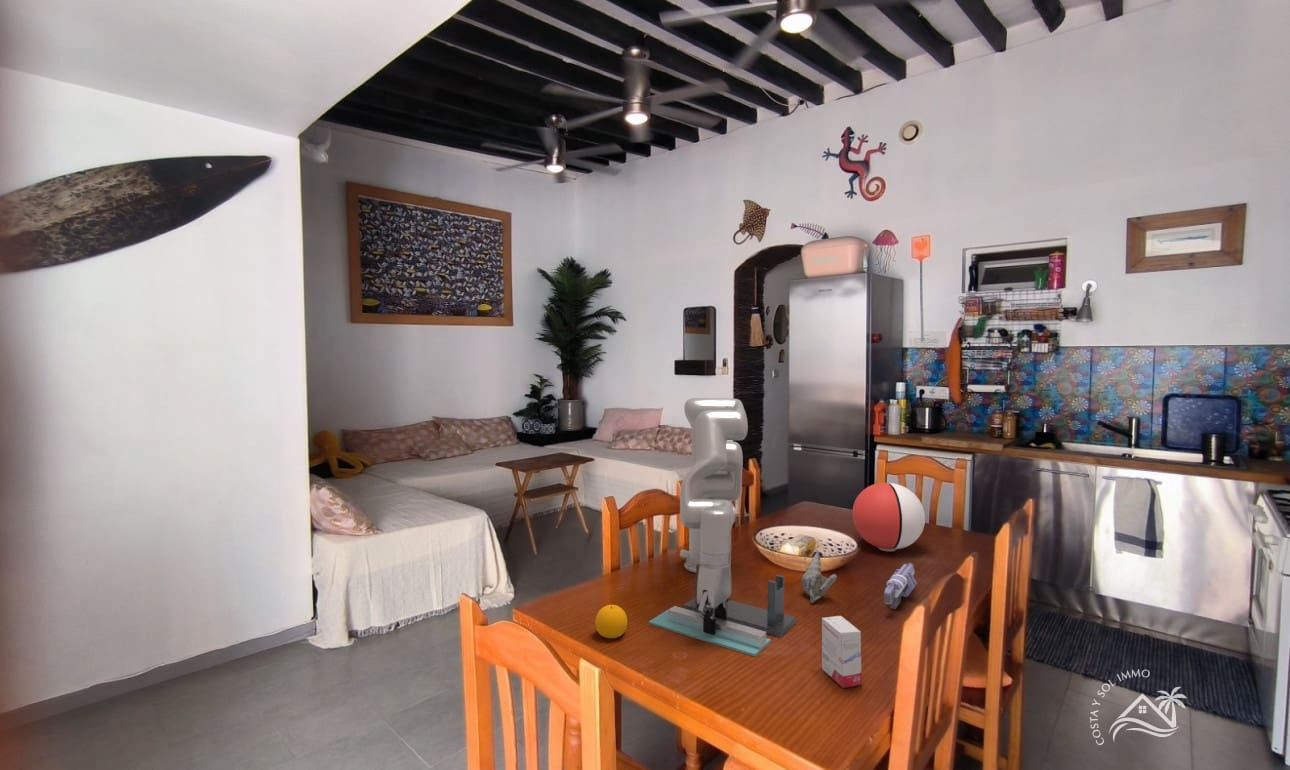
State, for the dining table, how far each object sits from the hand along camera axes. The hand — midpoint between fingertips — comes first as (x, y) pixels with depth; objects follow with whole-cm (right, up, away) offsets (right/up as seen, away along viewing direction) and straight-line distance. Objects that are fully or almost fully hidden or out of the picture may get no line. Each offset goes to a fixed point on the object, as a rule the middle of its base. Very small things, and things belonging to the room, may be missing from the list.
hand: (715, 628), depth 156 cm
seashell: (+33, 0, +25) cm, 42 cm away
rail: (0, -1, 0) cm, 1 cm away
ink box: (+25, -3, -20) cm, 32 cm away
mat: (-2, -2, +1) cm, 3 cm away
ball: (+69, +2, +67) cm, 96 cm away
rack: (+8, -1, +11) cm, 13 cm away
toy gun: (+55, -1, +21) cm, 58 cm away
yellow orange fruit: (-26, -2, 0) cm, 26 cm away
